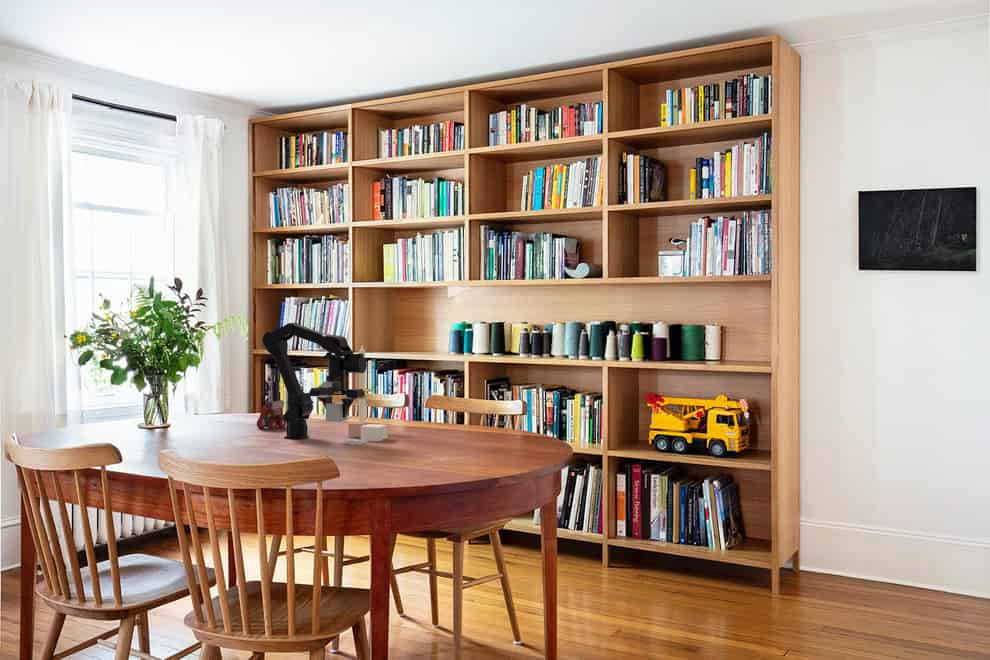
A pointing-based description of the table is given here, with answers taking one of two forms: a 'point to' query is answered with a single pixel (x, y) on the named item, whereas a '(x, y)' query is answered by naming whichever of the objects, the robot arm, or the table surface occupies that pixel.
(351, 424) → the terracotta block
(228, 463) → the table surface
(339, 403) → the grey block
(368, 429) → the cream block
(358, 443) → the tile
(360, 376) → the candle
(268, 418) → the toy fire truck
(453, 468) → the table surface
